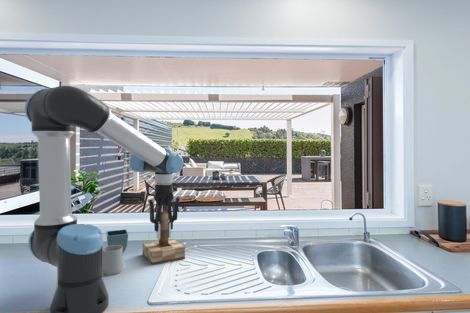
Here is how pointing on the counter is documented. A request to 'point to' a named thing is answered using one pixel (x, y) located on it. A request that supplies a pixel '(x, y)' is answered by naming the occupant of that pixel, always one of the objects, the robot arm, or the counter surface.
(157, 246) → the socket block
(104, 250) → the cup
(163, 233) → the pin
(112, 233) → the flower pot
